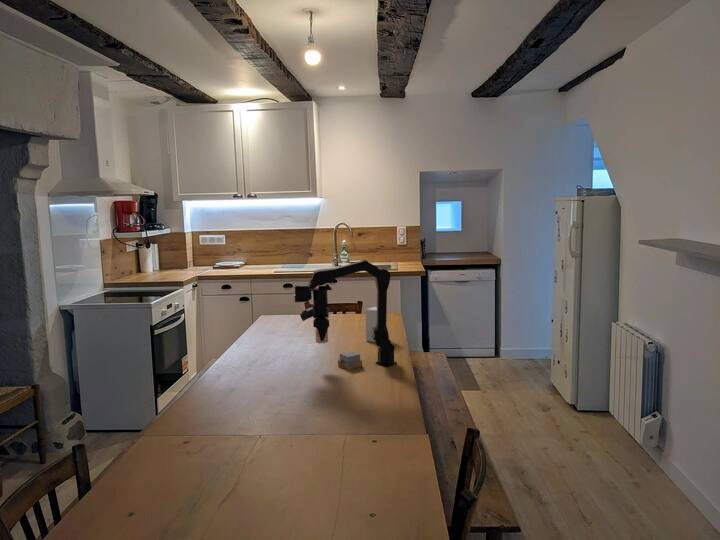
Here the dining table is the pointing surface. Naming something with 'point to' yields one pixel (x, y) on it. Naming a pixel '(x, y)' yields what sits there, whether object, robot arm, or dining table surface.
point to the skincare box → (370, 322)
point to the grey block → (350, 357)
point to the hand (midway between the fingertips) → (322, 339)
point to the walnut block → (349, 364)
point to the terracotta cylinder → (319, 337)
